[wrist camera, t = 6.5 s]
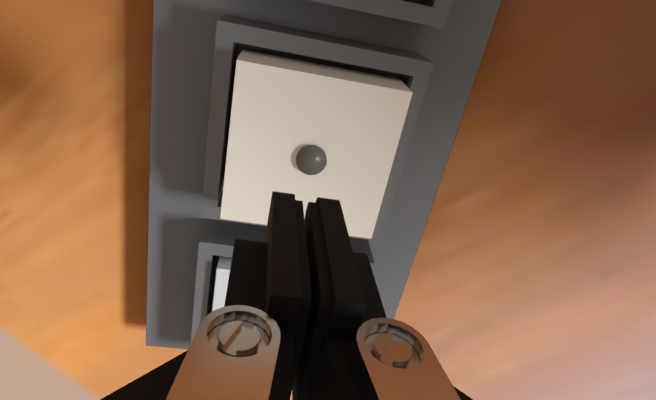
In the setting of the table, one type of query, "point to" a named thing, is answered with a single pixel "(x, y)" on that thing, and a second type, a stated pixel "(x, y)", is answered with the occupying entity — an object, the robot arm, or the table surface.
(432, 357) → the robot arm
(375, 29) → the button board
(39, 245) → the table surface
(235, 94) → the tile one
